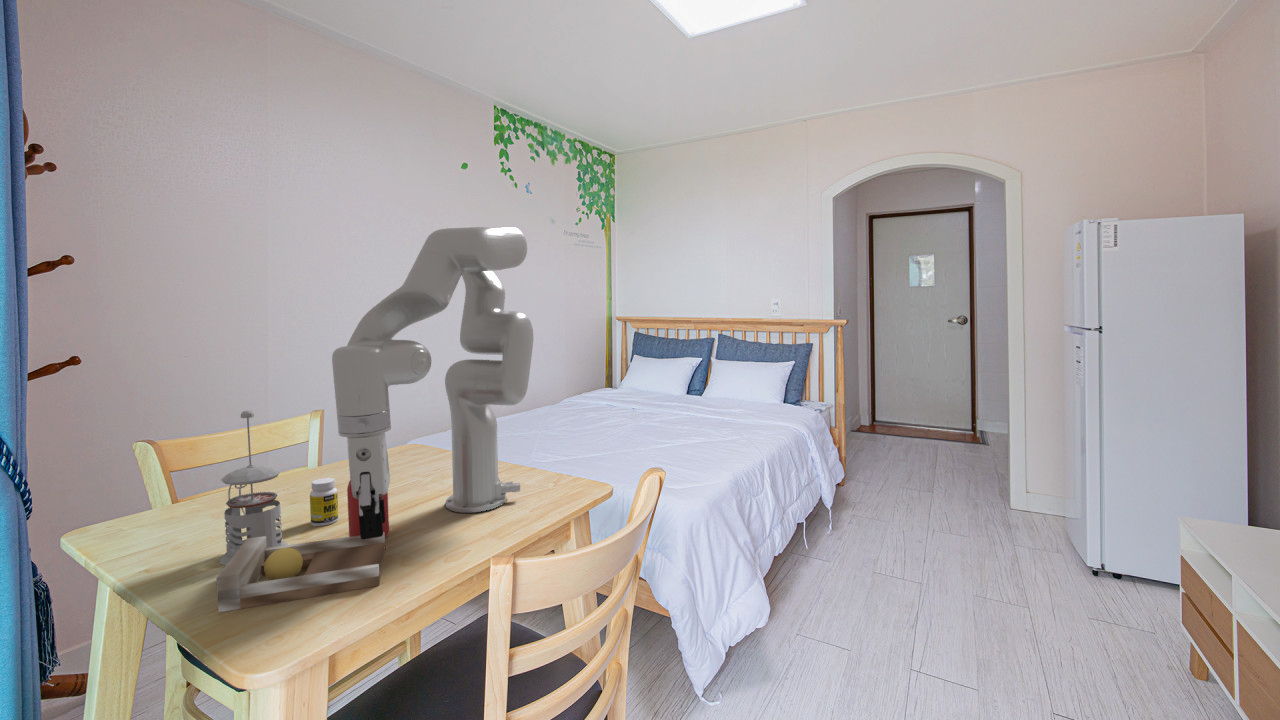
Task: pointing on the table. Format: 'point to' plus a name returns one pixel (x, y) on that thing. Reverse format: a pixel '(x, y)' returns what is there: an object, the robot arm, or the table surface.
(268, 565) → the ball
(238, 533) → the french press
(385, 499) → the beer can
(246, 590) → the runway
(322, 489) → the supplement bottle
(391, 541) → the table surface
